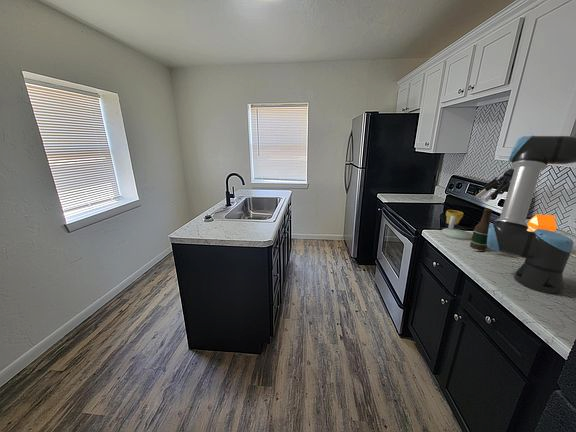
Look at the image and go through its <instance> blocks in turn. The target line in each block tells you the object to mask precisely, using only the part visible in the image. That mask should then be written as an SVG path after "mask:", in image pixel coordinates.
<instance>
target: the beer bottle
mask: <svg viewBox="0 0 576 432" xmlns="http://www.w3.org/2000/svg"><path fill="white" fill-rule="evenodd" d="M492 212H493V209H491V208H484V209H483V213H482V217H481V219H480V221H479V223H477V224H476V225H475V227H474V229H473V232H472V238H471V239H470V244H469V248H472V249H474V250H475V252H477V253H485V252H486V250H487V248H488V247H487V237H488V229H489V224H491V223H490V222H491V221H490V220H491V216H492Z"/></svg>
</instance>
